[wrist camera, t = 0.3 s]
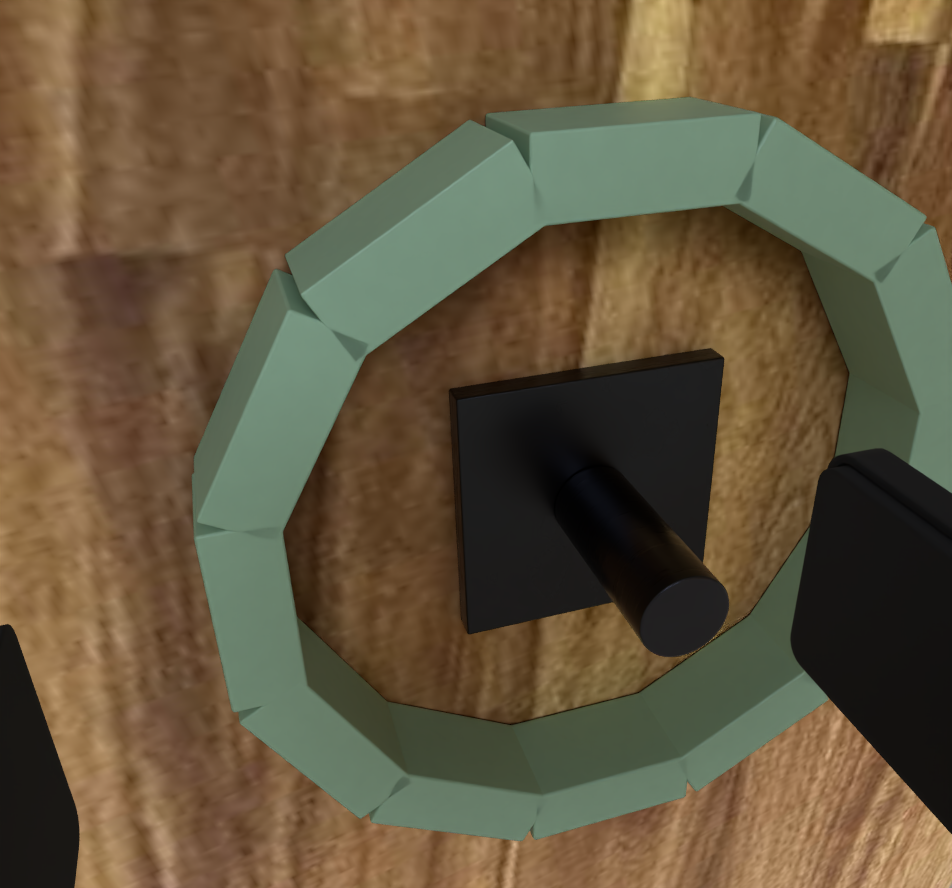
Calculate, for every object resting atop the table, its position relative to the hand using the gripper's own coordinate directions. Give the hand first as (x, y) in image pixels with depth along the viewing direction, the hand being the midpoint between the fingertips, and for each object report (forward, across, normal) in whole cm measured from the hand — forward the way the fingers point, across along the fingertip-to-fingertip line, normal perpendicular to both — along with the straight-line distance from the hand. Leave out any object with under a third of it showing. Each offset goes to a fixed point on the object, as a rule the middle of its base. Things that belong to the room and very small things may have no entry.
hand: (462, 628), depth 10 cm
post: (+14, -7, +7) cm, 17 cm away
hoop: (+14, -7, +7) cm, 17 cm away
